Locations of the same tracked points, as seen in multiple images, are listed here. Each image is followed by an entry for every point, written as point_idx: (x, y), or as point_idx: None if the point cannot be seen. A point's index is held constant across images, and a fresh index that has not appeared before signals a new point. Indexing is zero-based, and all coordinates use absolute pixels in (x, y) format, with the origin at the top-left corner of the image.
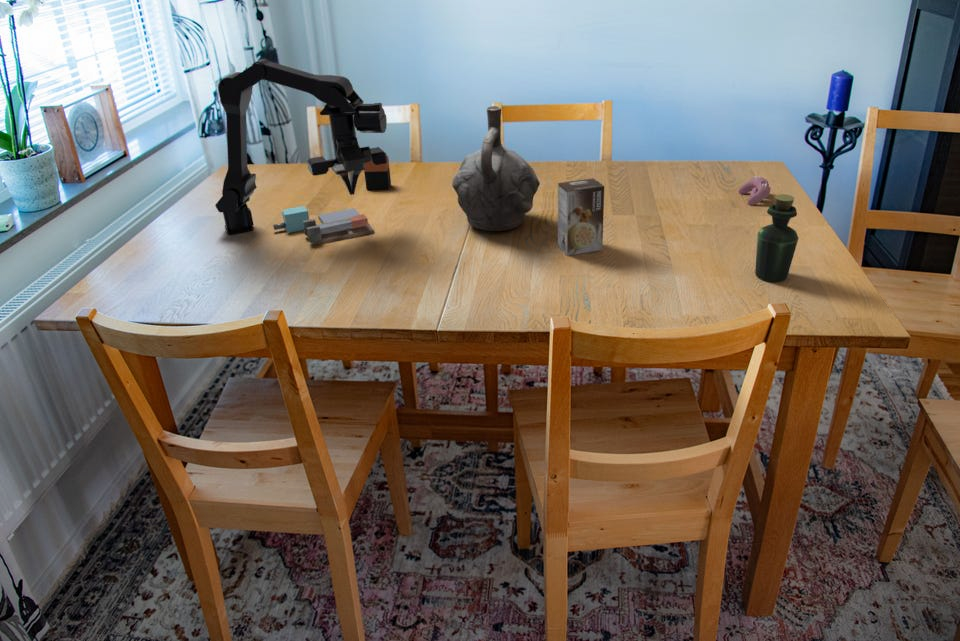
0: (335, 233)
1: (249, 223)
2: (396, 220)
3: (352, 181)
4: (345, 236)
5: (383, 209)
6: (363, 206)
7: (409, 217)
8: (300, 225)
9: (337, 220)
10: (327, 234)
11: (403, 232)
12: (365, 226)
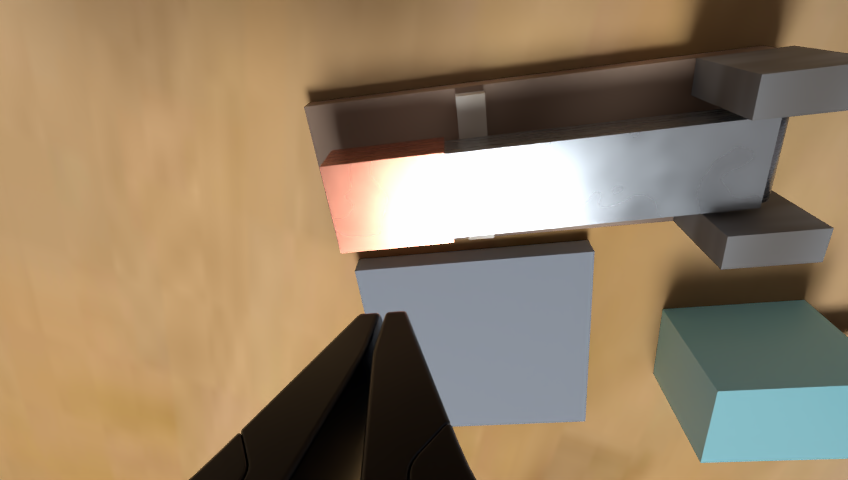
0: None
1: None
2: (176, 240)
3: (310, 458)
4: (511, 80)
5: (253, 387)
6: None
7: (104, 252)
8: (735, 325)
9: (543, 226)
10: None
11: (110, 31)
12: None
